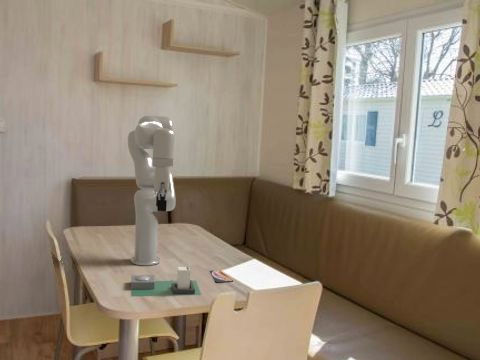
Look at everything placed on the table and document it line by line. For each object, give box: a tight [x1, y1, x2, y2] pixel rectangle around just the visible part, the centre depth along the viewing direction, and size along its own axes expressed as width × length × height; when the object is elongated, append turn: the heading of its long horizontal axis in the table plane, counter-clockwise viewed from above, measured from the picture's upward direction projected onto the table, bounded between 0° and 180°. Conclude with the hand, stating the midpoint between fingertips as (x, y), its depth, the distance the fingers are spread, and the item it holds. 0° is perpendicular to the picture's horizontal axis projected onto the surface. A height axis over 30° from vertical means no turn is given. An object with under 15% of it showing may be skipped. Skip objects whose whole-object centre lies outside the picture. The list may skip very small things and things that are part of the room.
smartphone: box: [209, 269, 234, 284], centre depth 200 cm, size 8×1×15 cm
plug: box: [176, 266, 191, 289], centre depth 178 cm, size 4×4×8 cm
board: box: [130, 274, 202, 297], centre depth 180 cm, size 16×24×4 cm, turn 102°
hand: (161, 208), depth 186 cm, fingers open, 9 cm apart
